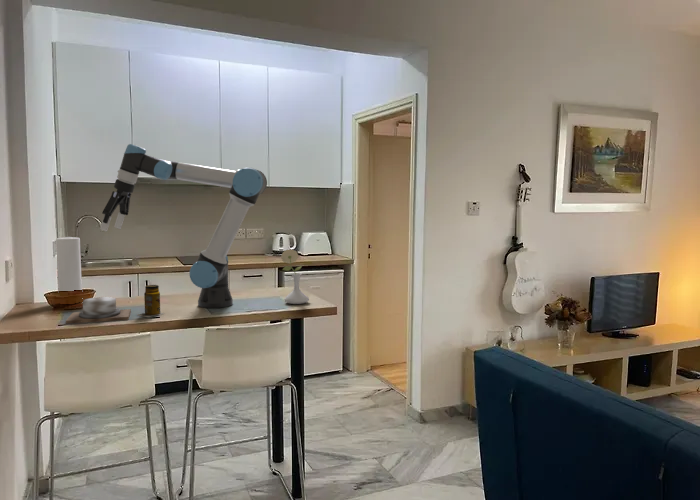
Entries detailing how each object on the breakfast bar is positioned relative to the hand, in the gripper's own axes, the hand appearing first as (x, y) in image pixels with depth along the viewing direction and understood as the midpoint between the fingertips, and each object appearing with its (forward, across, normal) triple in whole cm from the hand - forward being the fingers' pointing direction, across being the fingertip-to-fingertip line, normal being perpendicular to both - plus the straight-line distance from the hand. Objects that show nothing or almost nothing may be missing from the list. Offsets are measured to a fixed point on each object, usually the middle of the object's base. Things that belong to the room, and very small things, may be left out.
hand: (110, 229), depth 221 cm
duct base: (+32, +13, +12) cm, 37 cm away
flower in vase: (+7, -16, +83) cm, 85 cm away
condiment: (+27, +7, +29) cm, 40 cm away
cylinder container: (+42, -16, -13) cm, 47 cm away
